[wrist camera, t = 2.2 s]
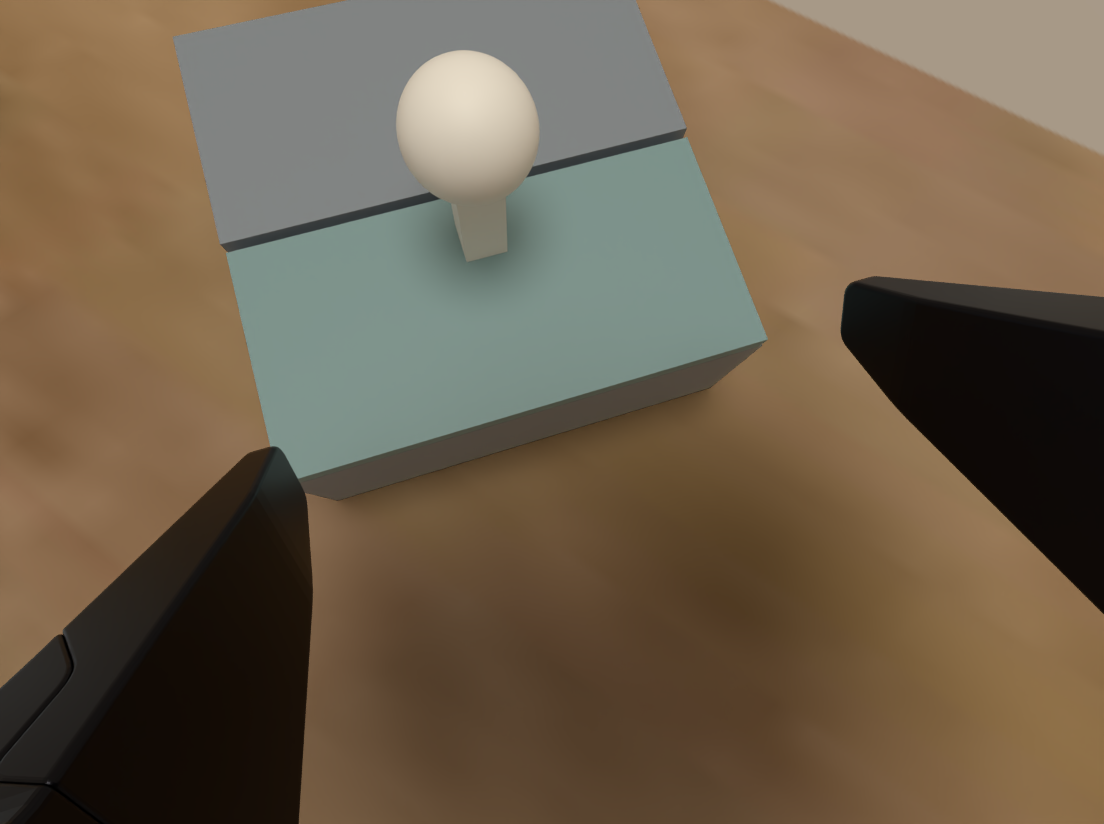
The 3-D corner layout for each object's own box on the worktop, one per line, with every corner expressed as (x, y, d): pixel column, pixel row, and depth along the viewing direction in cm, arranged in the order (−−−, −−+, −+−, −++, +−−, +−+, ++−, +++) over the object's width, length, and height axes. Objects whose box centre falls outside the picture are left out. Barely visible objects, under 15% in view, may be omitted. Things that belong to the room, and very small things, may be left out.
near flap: (760, 346, 18) (899, 232, 11) (287, 486, 16) (134, 447, 10) (682, 149, 19) (767, -56, 13) (235, 262, 18) (68, 95, 11)
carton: (709, 387, 23) (771, 338, 17) (337, 500, 21) (275, 485, 16) (592, 74, 26) (613, -56, 20) (252, 153, 24) (172, 37, 18)
